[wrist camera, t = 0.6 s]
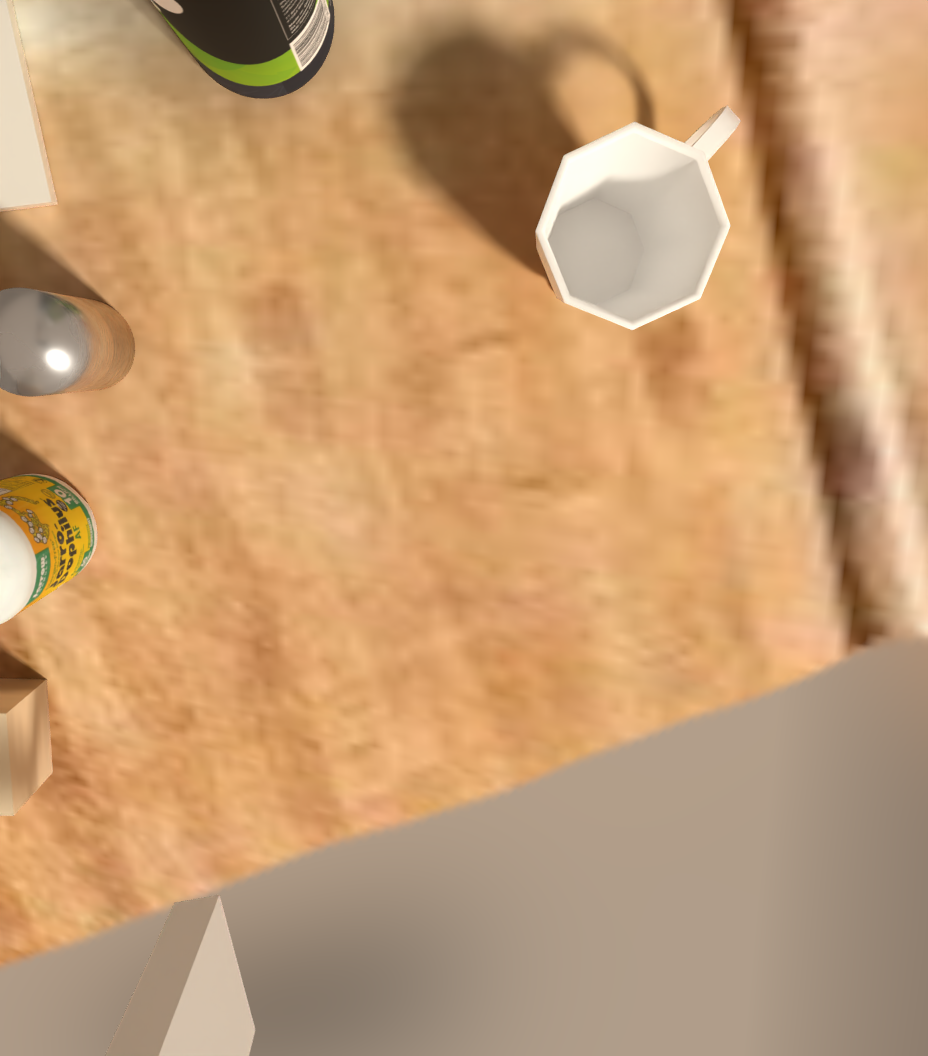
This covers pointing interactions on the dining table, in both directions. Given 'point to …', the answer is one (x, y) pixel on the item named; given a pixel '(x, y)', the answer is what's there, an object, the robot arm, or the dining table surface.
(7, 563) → the supplement bottle
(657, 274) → the cup
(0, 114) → the coaster
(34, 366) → the cylinder
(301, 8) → the beverage can
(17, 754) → the oak block
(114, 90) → the dining table surface
